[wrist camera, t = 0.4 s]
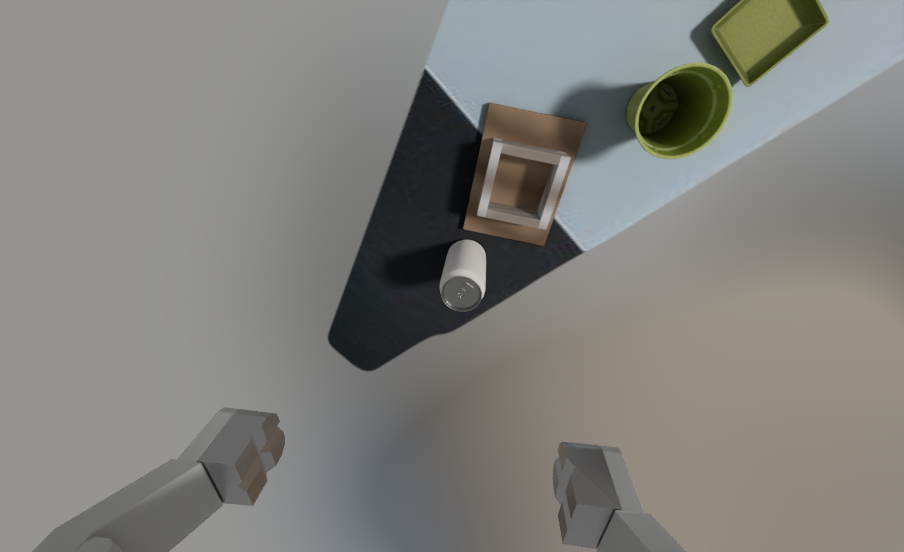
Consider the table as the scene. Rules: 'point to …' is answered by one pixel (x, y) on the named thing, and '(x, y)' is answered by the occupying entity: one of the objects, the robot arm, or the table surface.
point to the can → (464, 276)
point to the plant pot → (681, 110)
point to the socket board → (521, 173)
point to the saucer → (766, 33)
